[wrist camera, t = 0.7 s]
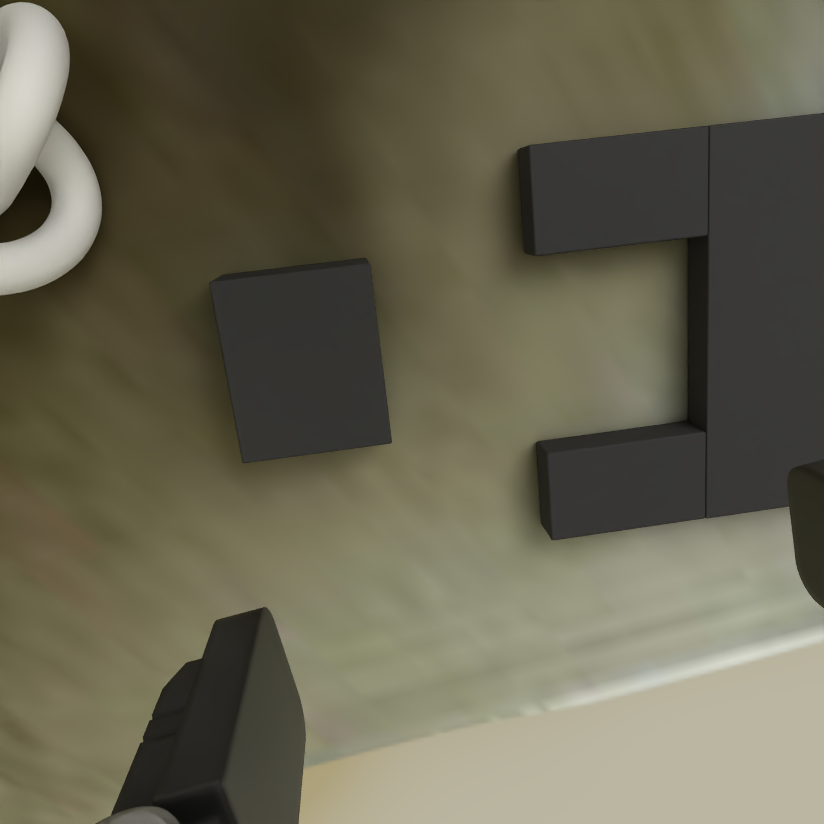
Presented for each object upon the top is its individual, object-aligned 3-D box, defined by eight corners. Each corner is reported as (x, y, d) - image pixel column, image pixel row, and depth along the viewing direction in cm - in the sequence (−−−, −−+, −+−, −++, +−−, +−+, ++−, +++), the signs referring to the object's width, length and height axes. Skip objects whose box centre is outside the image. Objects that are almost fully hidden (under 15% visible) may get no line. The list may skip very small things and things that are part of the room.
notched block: (517, 148, 24) (528, 144, 23) (1013, 94, 25) (1054, 87, 24) (540, 524, 28) (551, 541, 27) (969, 462, 29) (1002, 475, 28)
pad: (221, 275, 24) (208, 281, 22) (366, 257, 25) (370, 263, 22) (251, 440, 26) (242, 464, 24) (387, 422, 26) (392, 443, 24)
